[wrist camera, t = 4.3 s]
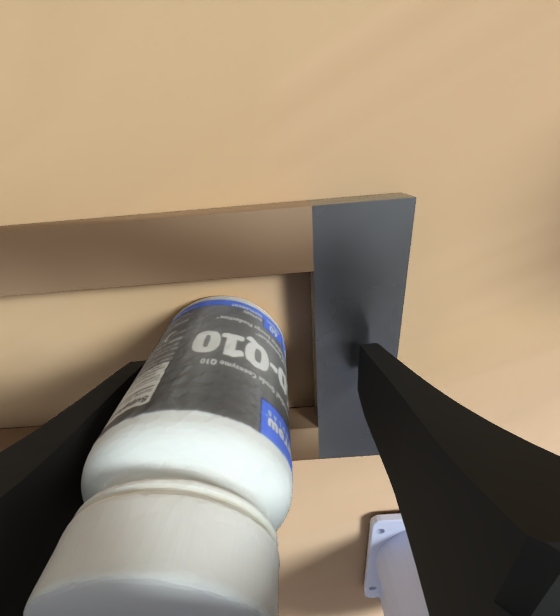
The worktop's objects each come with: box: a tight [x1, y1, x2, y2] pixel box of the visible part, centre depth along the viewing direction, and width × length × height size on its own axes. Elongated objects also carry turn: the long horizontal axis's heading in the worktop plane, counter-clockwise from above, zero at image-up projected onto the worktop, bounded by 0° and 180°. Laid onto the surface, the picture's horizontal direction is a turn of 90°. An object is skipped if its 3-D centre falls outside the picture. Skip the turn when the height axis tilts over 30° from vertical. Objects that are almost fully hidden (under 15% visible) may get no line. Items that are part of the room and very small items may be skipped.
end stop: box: [308, 193, 416, 459], centre depth 12 cm, size 11×3×1 cm, turn 4°
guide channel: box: [0, 200, 319, 461], centre depth 12 cm, size 11×15×1 cm
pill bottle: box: [23, 296, 293, 616], centre depth 9 cm, size 5×5×8 cm
